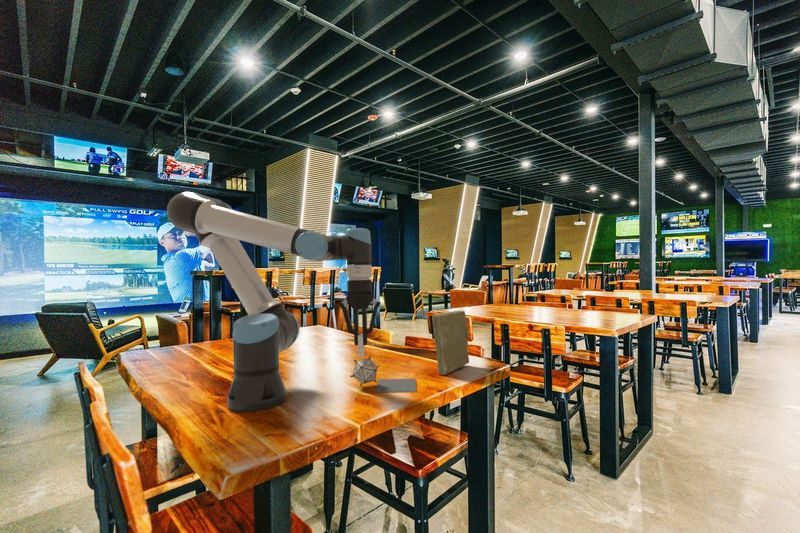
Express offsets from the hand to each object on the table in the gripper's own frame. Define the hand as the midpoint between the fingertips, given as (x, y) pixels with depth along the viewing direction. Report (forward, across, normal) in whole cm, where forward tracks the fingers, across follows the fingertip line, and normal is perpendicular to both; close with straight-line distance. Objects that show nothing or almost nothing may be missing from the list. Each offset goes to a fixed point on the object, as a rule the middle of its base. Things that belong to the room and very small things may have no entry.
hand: (361, 355), depth 112 cm
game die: (+10, 0, 0) cm, 10 cm away
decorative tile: (+10, +31, +18) cm, 37 cm away
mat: (+10, +11, 0) cm, 14 cm away
